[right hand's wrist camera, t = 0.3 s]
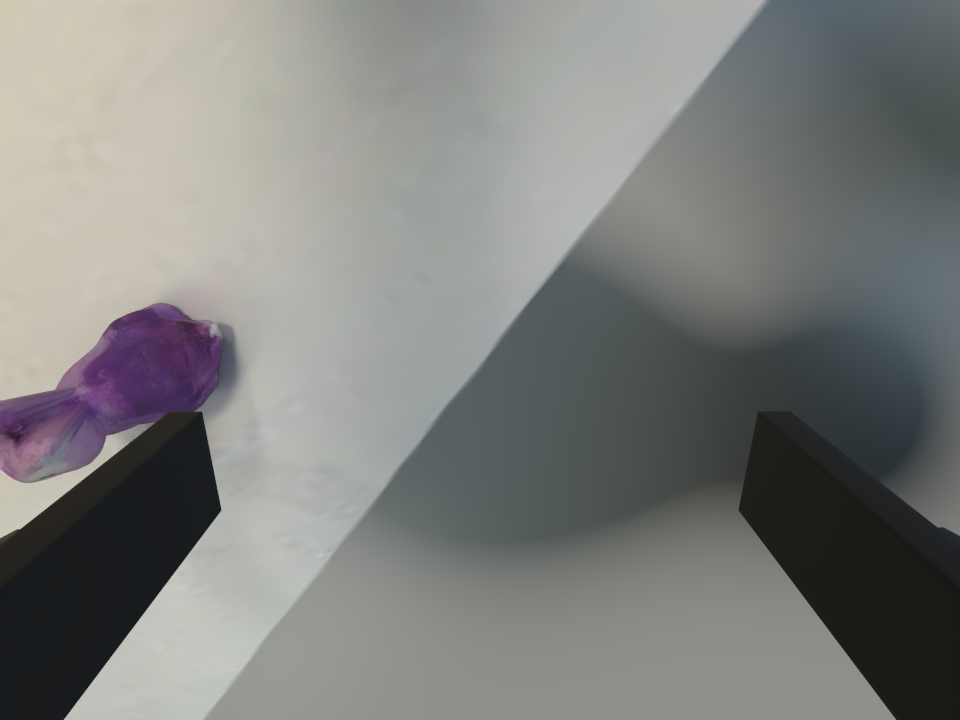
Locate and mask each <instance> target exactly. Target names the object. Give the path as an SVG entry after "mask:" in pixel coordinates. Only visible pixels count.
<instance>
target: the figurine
mask: <svg viewBox="0 0 960 720" xmlns="http://www.w3.org/2000/svg"><path fill="white" fill-rule="evenodd" d="M222 344H223V336H222V332H221V330H220V328H219V327H218V325H217V324H216V323H215V322H213V321H211V320H205V321H192V320H190V319H189V318H187V317H186V316H183V315H182V314H181V313H180V312H178V310H176V309H175V308H174V307H173V306H171V305H169V304H165V303H161V304H153V305H151V306H148V307H146V308H144V309H142V310H139V311H135V312H132V313H130V314H127V315H125V316H123V317H121V318H118V319H117V320H115V321H114V322H112V323H111V324H110V325H109V327H108V328H107V329H106V330H105V332H104V333H103V335H102V337H101V338H100V340H99V342H98V343H97V345H96V346H95V347H94V348H93V349H92V350H91V351H90V352H89V353H87V354H86V355H85V356H84V357H82V358H81V359H80V360H79V361H77V362H76V363H75V364H74V365H73V366H72V367H71V368H70V369H69V370H68V371H67V372H66V373H65V374H64V375H63V377H62V379H61V380H60V382H59V384H58V386H57V387H56V390H53V391H48V392H43V393H38V394H33V395H28V396H23V397H18V398H13V399H8V400H3V401H0V469H1V470H2V471H3V472H5V473H6V474H7V475H9V476H10V477H12V478H13V479H15V480H17V481H20V482H24V483H34V482H38V481H41V480H45V479H49V478H52V477H55V476H57V475H60V474H63V473H66V472H70V471H74V470H77V469H79V468H82V467H84V466H86V465H88V464H90V463H91V462H92V461H93V460H94V459H95V458H96V457H97V456H98V455H99V453H100V452H101V450H102V448H103V446H104V443H105V439H106V435H111V434H115V433H118V432H121V431H125V430H127V429H130V428H132V427H134V426H137V425H140V424H145V423H151V422H157V421H158V420H160V419H161V418H162V417H163V416H165V415H166V414H167V413H168V412H194V411H195V410H197V409H198V408H199V407H200V406H201V405H202V404H203V403H204V402H205V401H206V399H207V398H208V397H209V396H210V394H211V393H212V392H213V391H214V390H215V388H216V387H217V385H218V373H217V370H218V367H219V364H220V360H221V352H222Z"/></svg>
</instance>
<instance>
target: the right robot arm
mask: <svg viewBox="0 0 960 720" xmlns="http://www.w3.org/2000/svg"><path fill="white" fill-rule="evenodd" d="M220 511H221V506H220V500H219V495H218V490H217V485H216V480H215V475H214V470H213V465H212V460H211V455H210V450H209V445H208V440H207V435H206V430H205V425H204V419H203V414H202V412H168V413H167V414H166V415H165V416H163V417H162V418H161V419H160V420H158V421H157V422H156V423H155V424H153V425H152V426H151V427H149V428H148V429H147V430H146V431H144V432H143V433H142V434H141V435H139V436H138V437H137V438H136V439H134V440H133V441H132V442H130V443H129V444H128V445H127V446H125V447H124V448H123V449H122V450H120V451H119V452H118V453H117V454H115V455H114V456H113V457H111V458H110V459H109V460H108V461H106V462H105V463H104V464H103V465H101V466H100V467H99V468H97V469H96V470H95V471H94V472H92V473H91V474H90V475H89V476H87V477H86V478H85V479H84V480H82V481H81V482H80V483H78V484H77V485H76V486H75V487H73V488H72V489H71V490H70V491H68V492H67V493H66V494H65V495H63V496H62V497H61V498H59V499H58V500H57V501H56V502H54V503H53V504H52V505H51V506H49V507H48V508H47V509H46V510H44V511H43V512H42V513H40V514H39V515H38V516H37V517H35V518H34V519H33V520H32V521H30V522H29V523H28V524H27V525H25V526H24V527H23V528H21V529H17V530H15V531H13V532H11V533H10V534H8V535H6V536H4V537H2V538H0V720H64V719H65V717H66V716H67V715H68V713H69V712H70V711H71V709H72V708H73V707H74V705H75V704H76V703H77V701H78V700H79V699H80V697H81V696H82V695H83V693H84V692H85V691H86V689H87V688H88V687H89V685H90V684H91V683H92V681H93V680H94V679H95V677H96V676H97V675H98V673H99V672H100V671H101V669H102V668H103V667H104V665H105V664H106V663H107V661H108V660H109V659H110V657H111V656H112V655H113V653H114V652H115V651H116V649H117V648H118V647H119V645H120V644H121V643H122V642H123V640H124V639H125V638H126V636H127V635H128V634H129V632H130V631H131V630H132V628H133V627H134V626H135V624H136V623H137V622H138V620H139V619H140V618H141V616H142V615H143V614H144V612H145V611H146V610H147V608H148V607H149V606H150V604H151V603H152V602H153V600H154V599H155V598H156V596H157V595H158V594H159V592H160V591H161V590H162V588H163V587H164V586H165V584H166V583H167V582H168V580H169V579H170V578H171V576H172V575H173V574H174V572H175V571H176V570H177V568H178V567H179V566H180V564H181V563H182V562H183V561H184V559H185V558H186V557H187V555H188V554H189V553H190V551H191V550H192V549H193V547H194V546H195V545H196V543H197V542H198V541H199V539H200V538H201V537H202V535H203V534H204V533H205V531H206V530H207V529H208V527H209V526H210V525H211V523H212V522H213V521H214V519H215V518H216V517H217V515H218V514H219V513H220ZM739 511H740V513H741V514H742V515H743V517H744V518H745V519H746V521H747V522H748V523H749V525H750V526H751V527H752V529H753V530H754V531H755V533H756V534H757V535H758V537H759V538H760V539H761V541H762V542H763V543H764V545H765V546H766V547H767V549H768V550H769V551H770V553H771V554H772V555H773V557H774V558H775V559H776V561H777V562H778V563H779V564H780V566H781V567H782V568H783V570H784V571H785V572H786V574H787V575H788V576H789V578H790V579H791V580H792V582H793V583H794V584H795V586H796V587H797V588H798V590H799V591H800V592H801V594H802V595H803V596H804V598H805V599H806V600H807V602H808V603H809V604H810V606H811V607H812V608H813V610H814V611H815V612H816V614H817V615H818V616H819V618H820V619H821V620H822V622H823V623H824V624H825V626H826V627H827V628H828V630H829V631H830V632H831V634H832V635H833V636H834V638H835V639H836V640H837V642H838V643H839V644H840V645H841V647H842V648H843V649H844V651H845V652H846V653H847V655H848V656H849V657H850V659H851V660H852V661H853V663H854V664H855V665H856V667H857V668H858V669H859V671H860V672H861V673H862V675H863V676H864V677H865V679H866V680H867V681H868V683H869V684H870V685H871V687H872V688H873V689H874V691H875V692H876V693H877V695H878V696H879V697H880V699H881V700H882V701H883V703H884V704H885V705H886V707H887V708H888V709H889V711H890V712H891V713H892V714H893V716H894V717H895V719H896V720H960V536H959V535H957V534H955V533H953V532H951V531H949V530H947V529H945V528H937V527H936V526H935V525H933V524H932V523H931V522H930V521H928V520H927V519H926V518H925V517H923V516H922V515H921V514H919V513H918V512H917V511H916V510H914V509H913V508H912V507H911V506H909V505H908V504H907V503H906V502H904V501H903V500H902V499H900V498H899V497H898V496H897V495H895V494H894V493H893V492H892V491H890V490H889V489H888V488H887V487H885V486H884V485H883V484H882V483H880V482H879V481H878V480H876V479H875V478H874V477H873V476H871V475H870V474H869V473H868V472H866V471H865V470H864V469H862V468H861V467H860V466H859V465H857V464H856V463H855V462H854V461H852V460H851V459H850V458H849V457H847V456H846V455H845V454H843V453H842V452H841V451H840V450H838V449H837V448H836V447H835V446H833V445H832V444H831V443H830V442H828V441H827V440H826V439H824V438H823V437H822V436H821V435H819V434H818V433H817V432H816V431H814V430H813V429H812V428H811V427H809V426H808V425H807V424H805V423H804V422H803V421H802V420H800V419H799V418H798V417H797V416H795V415H794V414H793V413H792V412H758V414H757V420H756V425H755V430H754V435H753V440H752V445H751V450H750V455H749V460H748V465H747V470H746V475H745V480H744V485H743V490H742V495H741V500H740V506H739Z"/></svg>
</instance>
